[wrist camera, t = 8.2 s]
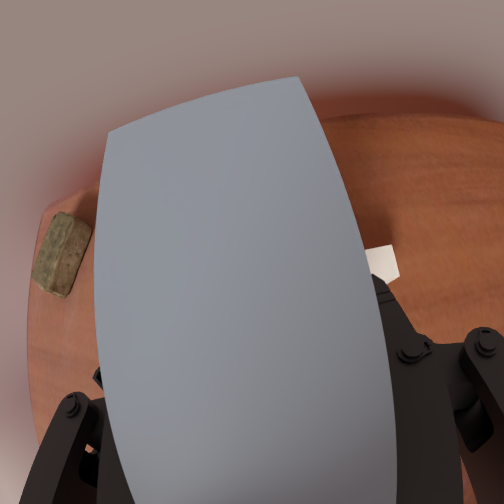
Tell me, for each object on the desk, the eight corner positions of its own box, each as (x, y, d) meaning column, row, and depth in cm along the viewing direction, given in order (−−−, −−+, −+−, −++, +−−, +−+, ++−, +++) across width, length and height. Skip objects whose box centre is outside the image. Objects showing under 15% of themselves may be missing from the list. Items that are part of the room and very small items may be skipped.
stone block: (97, 227, 35) (75, 214, 30) (70, 302, 33) (45, 296, 28) (75, 218, 36) (54, 206, 32) (50, 287, 34) (27, 281, 29)
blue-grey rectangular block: (238, 271, 17) (108, 132, 5) (302, 258, 17) (297, 76, 4) (264, 429, 14) (181, 589, 2) (331, 418, 14) (385, 580, 1)
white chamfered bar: (379, 257, 27) (391, 244, 23) (385, 284, 26) (399, 276, 22) (195, 290, 30) (178, 283, 25) (198, 318, 29) (181, 315, 24)
